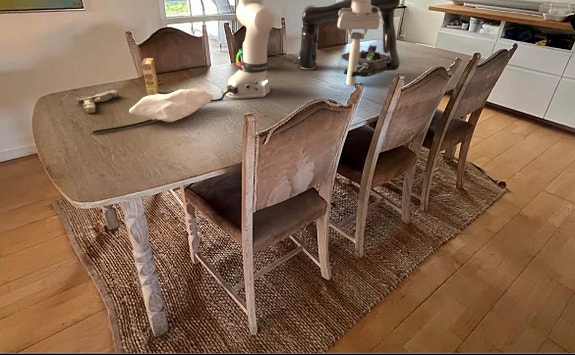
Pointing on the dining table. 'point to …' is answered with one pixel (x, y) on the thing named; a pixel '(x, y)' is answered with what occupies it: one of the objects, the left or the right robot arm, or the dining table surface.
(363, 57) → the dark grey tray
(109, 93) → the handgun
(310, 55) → the right robot arm
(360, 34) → the cap
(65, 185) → the dining table surface
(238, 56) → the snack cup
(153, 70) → the candy box
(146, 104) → the crumpled cloth
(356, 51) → the cream tall cylinder
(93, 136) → the dining table surface
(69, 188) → the dining table surface
